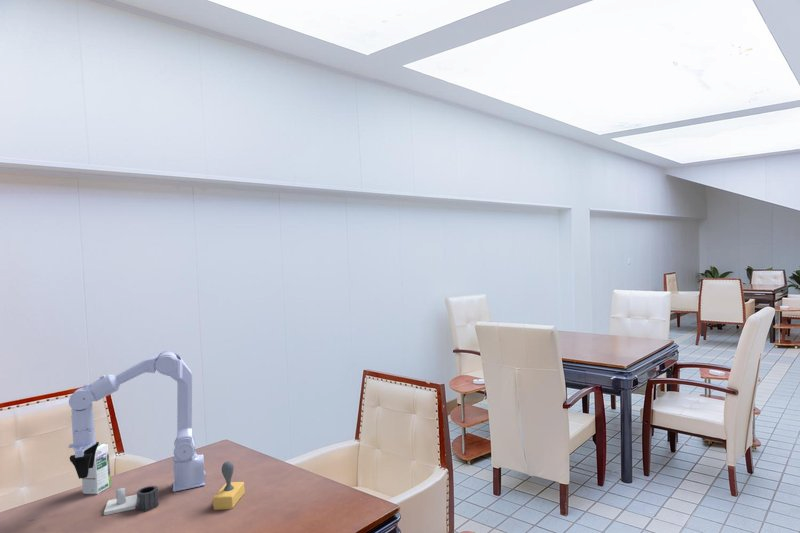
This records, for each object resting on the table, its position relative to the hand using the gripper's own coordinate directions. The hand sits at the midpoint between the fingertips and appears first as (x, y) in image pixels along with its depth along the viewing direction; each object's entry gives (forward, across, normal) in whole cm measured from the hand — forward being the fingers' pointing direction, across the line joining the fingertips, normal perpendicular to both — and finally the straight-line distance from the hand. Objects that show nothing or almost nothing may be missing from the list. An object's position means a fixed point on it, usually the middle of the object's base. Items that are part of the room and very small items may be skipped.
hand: (86, 472), depth 149 cm
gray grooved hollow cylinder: (+10, +10, +17) cm, 22 cm away
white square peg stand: (+10, +6, +10) cm, 15 cm away
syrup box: (+10, -11, 0) cm, 15 cm away
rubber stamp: (+10, +18, +40) cm, 45 cm away
